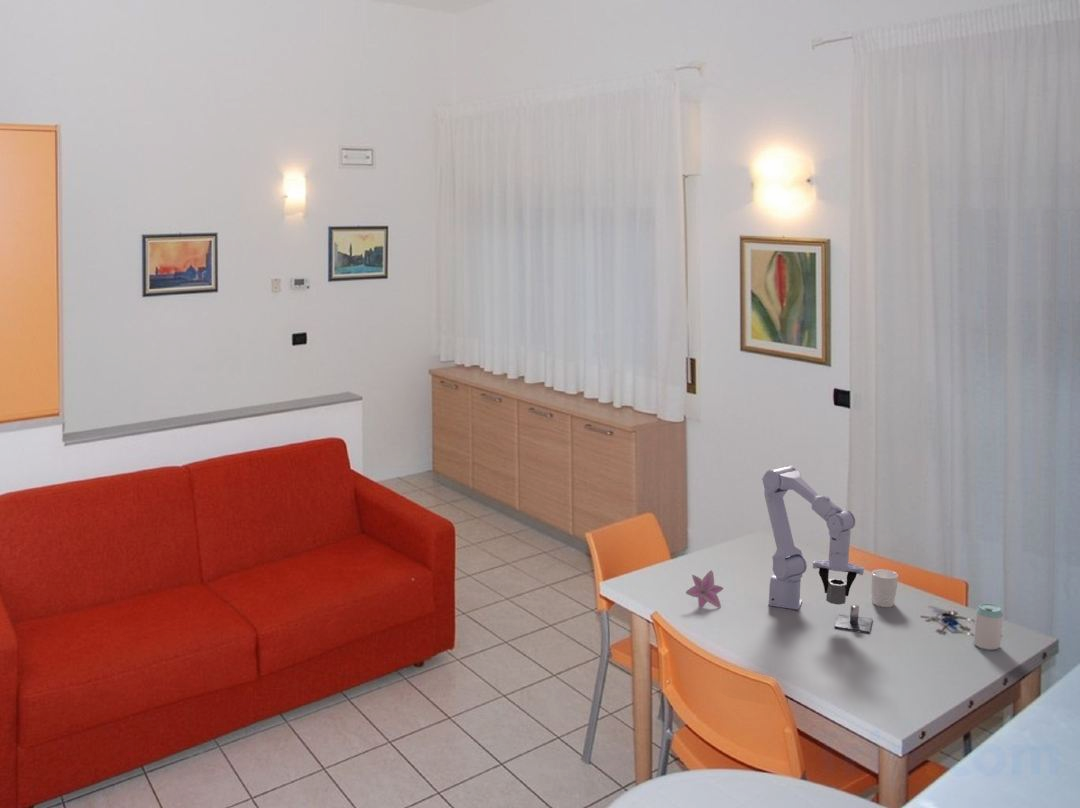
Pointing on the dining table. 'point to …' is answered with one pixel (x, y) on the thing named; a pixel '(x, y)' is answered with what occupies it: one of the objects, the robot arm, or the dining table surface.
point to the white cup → (884, 587)
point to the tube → (836, 591)
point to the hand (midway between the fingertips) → (836, 593)
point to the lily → (705, 590)
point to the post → (853, 621)
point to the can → (988, 627)
